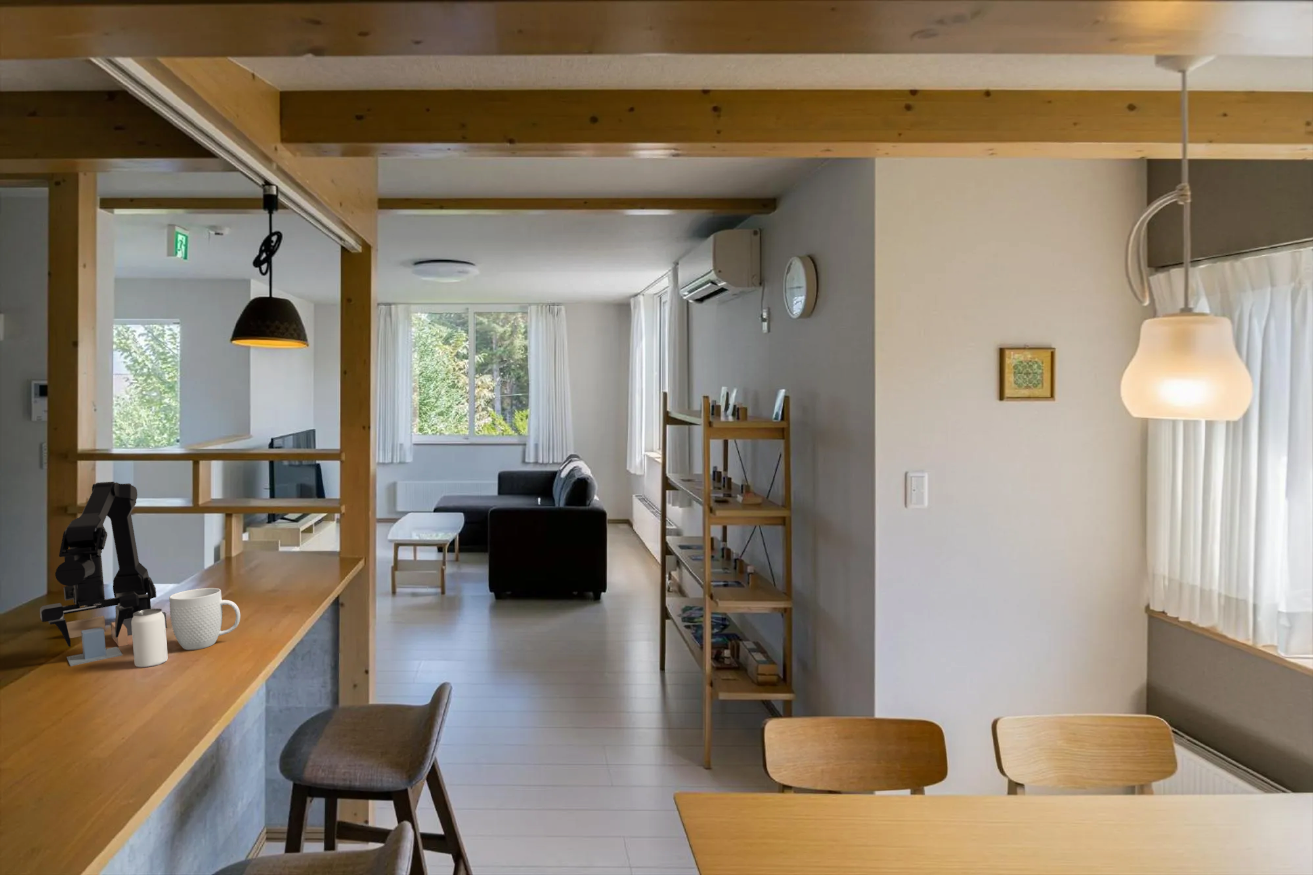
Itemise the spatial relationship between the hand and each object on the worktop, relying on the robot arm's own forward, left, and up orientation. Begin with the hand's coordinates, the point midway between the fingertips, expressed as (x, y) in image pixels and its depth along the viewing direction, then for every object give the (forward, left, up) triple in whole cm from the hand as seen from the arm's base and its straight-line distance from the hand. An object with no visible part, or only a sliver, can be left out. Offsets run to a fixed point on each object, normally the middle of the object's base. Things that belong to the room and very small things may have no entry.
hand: (93, 641), depth 188 cm
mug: (-21, +10, -4) cm, 24 cm away
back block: (-1, -25, -4) cm, 26 cm away
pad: (0, 0, -4) cm, 4 cm away
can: (-9, +16, -4) cm, 19 cm away
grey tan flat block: (-11, -11, -4) cm, 16 cm away
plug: (0, 0, -3) cm, 3 cm away
